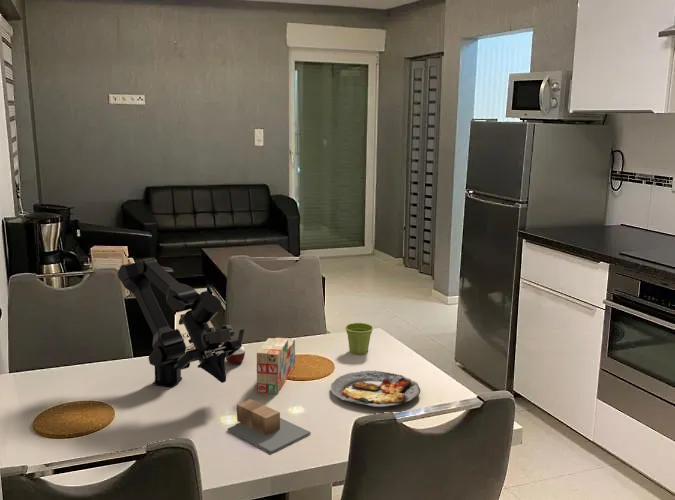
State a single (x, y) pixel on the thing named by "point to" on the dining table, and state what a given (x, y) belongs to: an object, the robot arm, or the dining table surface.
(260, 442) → the mat
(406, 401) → the food plate
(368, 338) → the plant pot
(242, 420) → the walnut block
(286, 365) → the stack of blocks
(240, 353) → the cocoa
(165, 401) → the dining table surface
